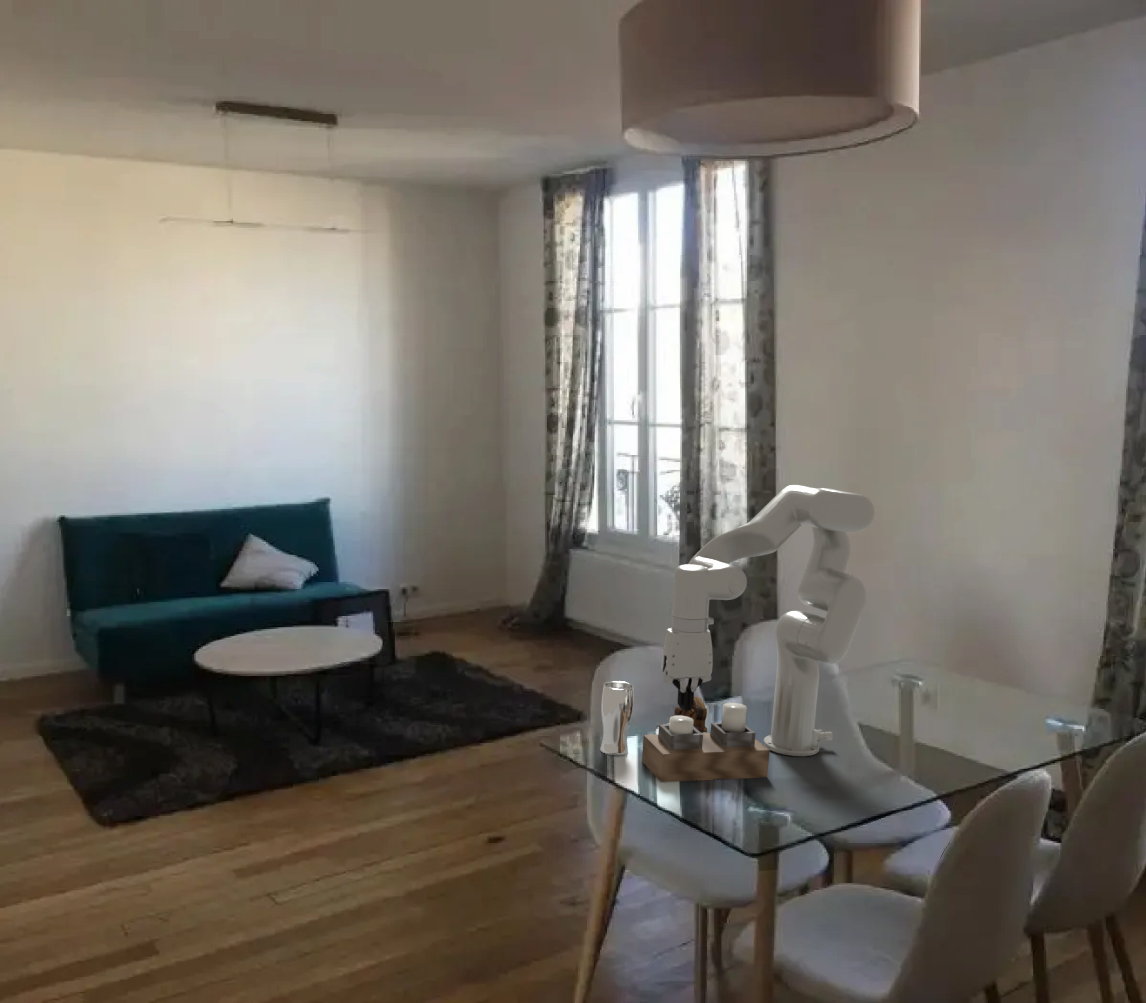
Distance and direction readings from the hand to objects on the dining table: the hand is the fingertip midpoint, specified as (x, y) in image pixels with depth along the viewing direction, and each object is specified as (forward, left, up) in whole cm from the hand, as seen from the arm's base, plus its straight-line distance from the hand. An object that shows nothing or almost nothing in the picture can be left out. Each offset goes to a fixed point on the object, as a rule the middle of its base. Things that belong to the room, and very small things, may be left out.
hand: (685, 708), depth 250 cm
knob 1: (+1, 0, -7) cm, 7 cm away
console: (-5, 0, -14) cm, 15 cm away
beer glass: (+11, -13, -14) cm, 22 cm away
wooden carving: (-9, -19, -14) cm, 25 cm away
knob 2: (-11, 0, -5) cm, 12 cm away
